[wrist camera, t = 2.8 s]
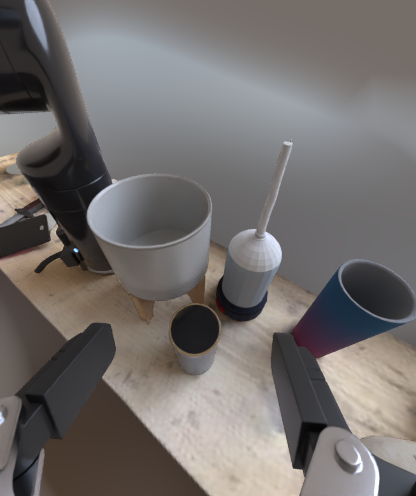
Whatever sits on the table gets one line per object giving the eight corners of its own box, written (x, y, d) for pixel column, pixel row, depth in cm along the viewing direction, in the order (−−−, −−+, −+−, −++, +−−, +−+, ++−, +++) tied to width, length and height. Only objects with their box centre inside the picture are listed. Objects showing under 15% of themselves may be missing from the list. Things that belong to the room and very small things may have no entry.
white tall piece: (208, 308, 33) (220, 151, 14) (226, 271, 38) (253, 119, 19) (256, 330, 31) (347, 180, 12) (268, 287, 36) (345, 135, 17)
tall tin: (178, 379, 26) (169, 360, 19) (175, 337, 30) (167, 306, 22) (218, 371, 27) (226, 350, 19) (211, 331, 30) (215, 299, 23)
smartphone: (43, 212, 42) (46, 214, 43) (-41, 239, 38) (-36, 241, 39) (47, 239, 39) (51, 241, 40) (-44, 271, 35) (-38, 272, 36)
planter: (113, 301, 33) (56, 216, 20) (162, 249, 41) (144, 164, 27) (179, 341, 29) (164, 270, 16) (219, 276, 37) (231, 192, 24)
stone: (329, 431, 21) (459, 419, 20) (328, 453, 24) (440, 444, 23) (367, 524, 16) (546, 518, 14) (359, 537, 19) (507, 533, 17)
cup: (290, 310, 33) (337, 250, 22) (334, 327, 31) (410, 272, 20) (283, 352, 29) (338, 304, 18) (334, 374, 27) (430, 336, 16)
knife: (-11, 244, 38) (-33, 239, 39) (-6, 248, 39) (-27, 244, 40) (53, 194, 49) (36, 191, 50) (56, 199, 50) (39, 196, 51)
